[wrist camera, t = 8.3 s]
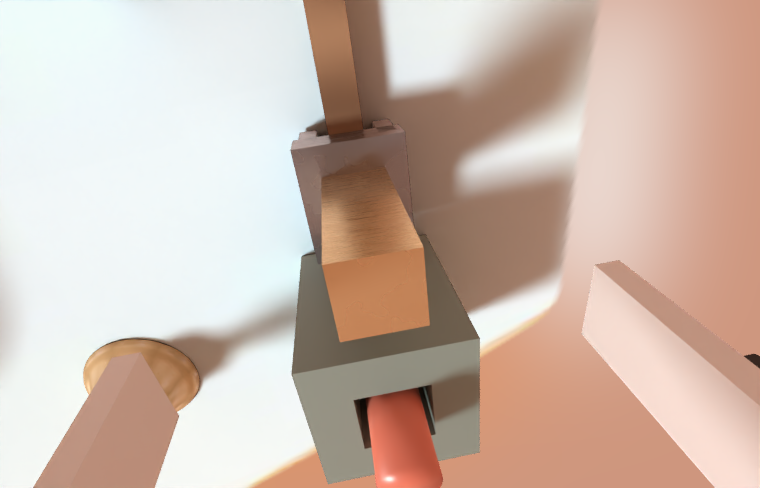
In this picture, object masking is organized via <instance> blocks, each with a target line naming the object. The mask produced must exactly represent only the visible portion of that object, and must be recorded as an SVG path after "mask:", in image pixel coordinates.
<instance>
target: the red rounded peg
mask: <svg viewBox="0 0 760 488" xmlns="http://www.w3.org/2000/svg"><path fill="white" fill-rule="evenodd" d="M366 406H367V414H368V422H369V430H370V438H371V446H372V455H373V463H374V471H375V479H376V487H377V488H440V487H441V485H442V482H443V477H442V473H441V470H440V466H439V462H438V459H437V455H436V452H435V448H434V444H433V441H432V437H431V433H430V430H429V426H428V422H427V419H426V415H425V412H424V408H423V404H422V401H421V397H420V393H419V390H418V387H417V388H412V389H407V390H402V391H397V392H392V393H387V394H382V395H377V396H372V397H367V398H366Z"/></svg>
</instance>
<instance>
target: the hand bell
mask: <svg viewBox="0 0 760 488" xmlns="http://www.w3.org/2000/svg"><path fill="white" fill-rule="evenodd" d="M139 352H141V354H142V355H143V357H144V359H145V360H146V362H147V364H148V365H149V367H150V369H151V370H152V372H153V374H154V375H155V377H156V379H157V380H158V382H159V384H160V385H161V387H162V389H163V390H164V392H165V394H166V395H167V397H168V399H169V400H170V402H171V404H172V405H173V407H174V409H175V410H176V412H177V411H179V410H181V409H182V408H184V407H185V406H186V405H188V404H189V403H190V402H191V401H192V400H193V398H194V397H195V395H196V394H197V391H198V388H199V382H200V380H199V375H198V371H197V369H196V368H195V366H194V365H193V363H192V362H191V361H190V359H189V358H187V357H186V356H185V355H184V354H183V353H181V352H180V351H178V350H176V349H175V348H172V347H170V346H168V345H165V344H162V343H159V342H155V341H150V340H140V339H129V340H121V341H117V342H113V343H110V344H107V345H105V346H103V347H101V348H100V349H98V350H97V351H95V352H94V353H93V354H92V355H91V356H90V357H89V359H88V360H87V362H86V364H85V367H84V372H83V379H84V385H85V388H86V390H87V392H88V394H89V395H90V393H91V391H92V390H93V388H94V386H95V385H96V383H97V381H98V380H99V378H100V376H101V375H102V373H103V372H104V370H105V368H106V367H107V365H108V363H109V362H110V360H111V358H113V357H118V356H124V355H129V354H134V353H139Z"/></svg>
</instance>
